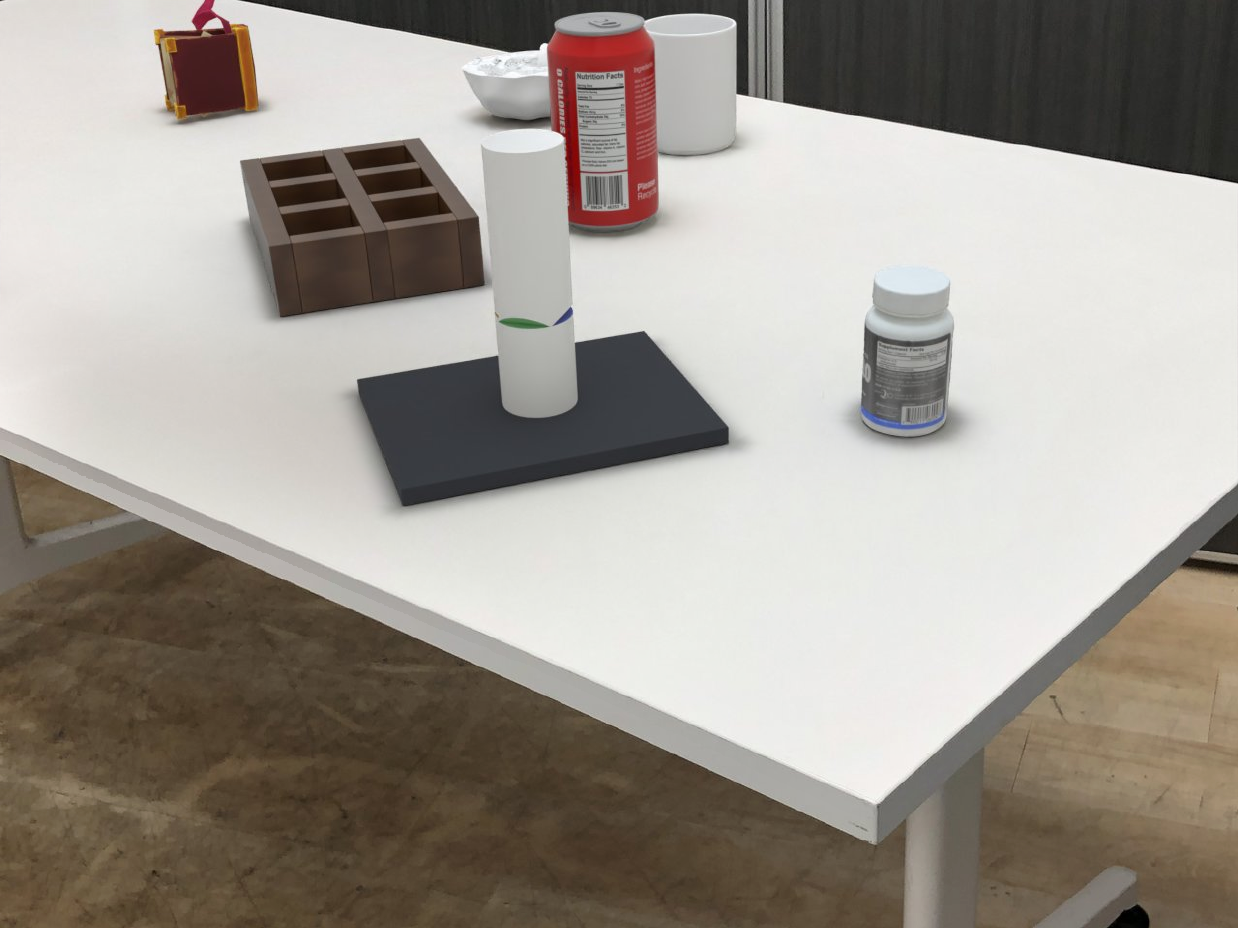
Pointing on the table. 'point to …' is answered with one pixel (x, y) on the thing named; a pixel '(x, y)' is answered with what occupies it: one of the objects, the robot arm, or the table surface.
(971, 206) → the table surface
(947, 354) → the pill bottle
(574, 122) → the soda can
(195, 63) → the book monster
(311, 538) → the table surface
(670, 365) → the mat
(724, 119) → the mug
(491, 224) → the tube
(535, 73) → the cell model
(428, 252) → the box
